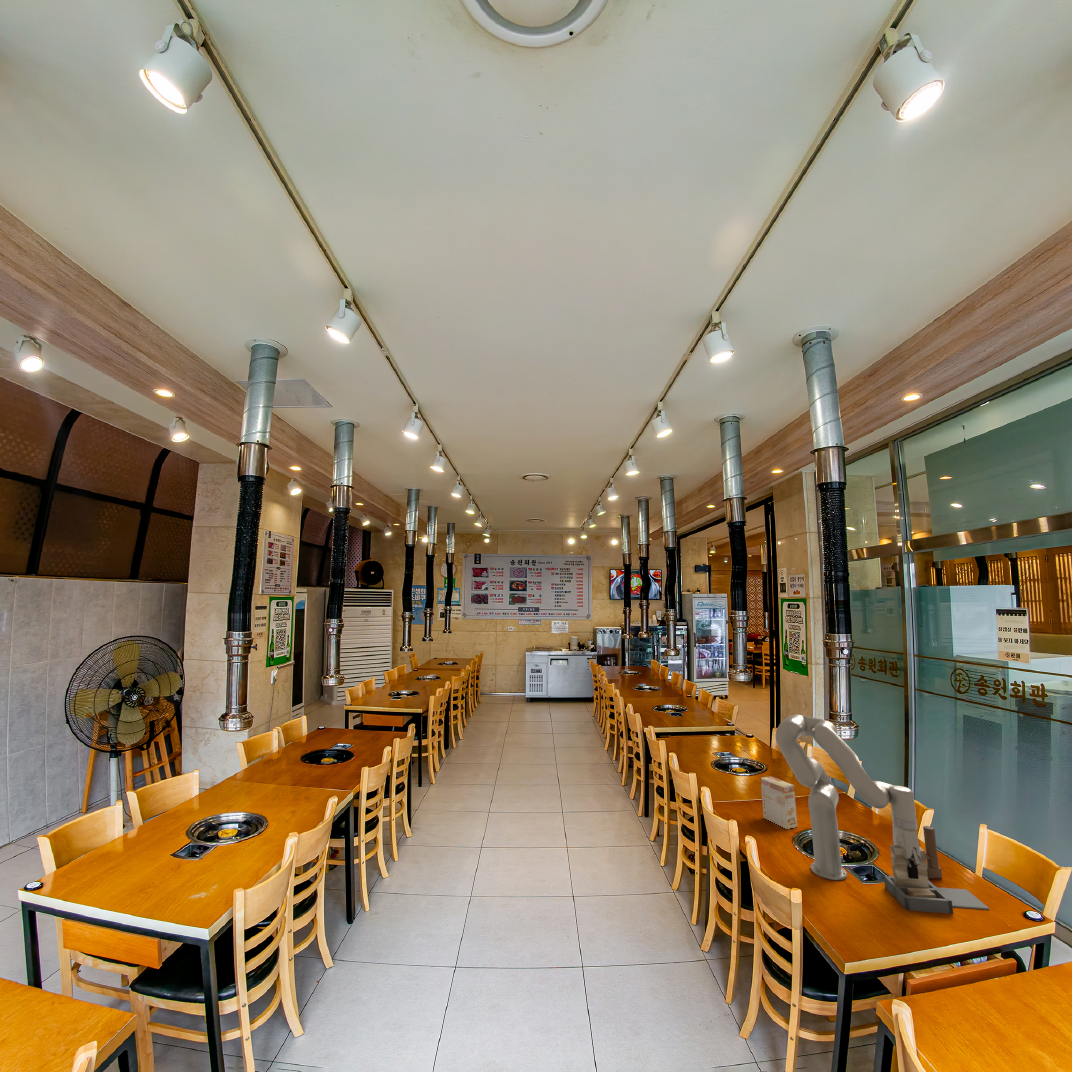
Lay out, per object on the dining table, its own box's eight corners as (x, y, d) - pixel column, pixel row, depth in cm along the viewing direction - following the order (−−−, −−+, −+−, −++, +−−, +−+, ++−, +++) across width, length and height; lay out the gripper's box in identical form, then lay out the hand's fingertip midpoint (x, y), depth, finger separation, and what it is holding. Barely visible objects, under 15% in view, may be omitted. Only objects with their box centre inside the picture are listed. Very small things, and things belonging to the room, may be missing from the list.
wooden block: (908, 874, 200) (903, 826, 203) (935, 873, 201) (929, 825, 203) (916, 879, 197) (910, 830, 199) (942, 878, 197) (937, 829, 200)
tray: (885, 887, 192) (884, 875, 192) (928, 890, 189) (926, 878, 190) (906, 910, 177) (905, 897, 178) (953, 913, 175) (951, 901, 175)
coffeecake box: (798, 827, 244) (794, 785, 246) (786, 830, 241) (783, 786, 244) (774, 816, 258) (771, 775, 260) (763, 818, 255) (760, 777, 258)
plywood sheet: (894, 891, 189) (890, 844, 191) (924, 893, 187) (919, 846, 190) (899, 896, 186) (894, 849, 188) (930, 898, 184) (924, 851, 186)
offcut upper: (908, 895, 182) (907, 888, 183) (928, 896, 182) (927, 888, 182) (915, 902, 178) (914, 894, 179) (936, 902, 178) (935, 894, 178)
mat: (927, 888, 191) (927, 886, 191) (966, 890, 188) (966, 889, 188) (947, 906, 179) (947, 905, 179) (989, 909, 177) (989, 908, 177)
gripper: (882, 813, 199) (887, 863, 196) (905, 831, 182) (911, 886, 180) (903, 814, 197) (909, 864, 195) (928, 832, 181) (935, 888, 179)
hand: (910, 874), depth 187 cm, fingers closed on plywood sheet, 3 cm apart
